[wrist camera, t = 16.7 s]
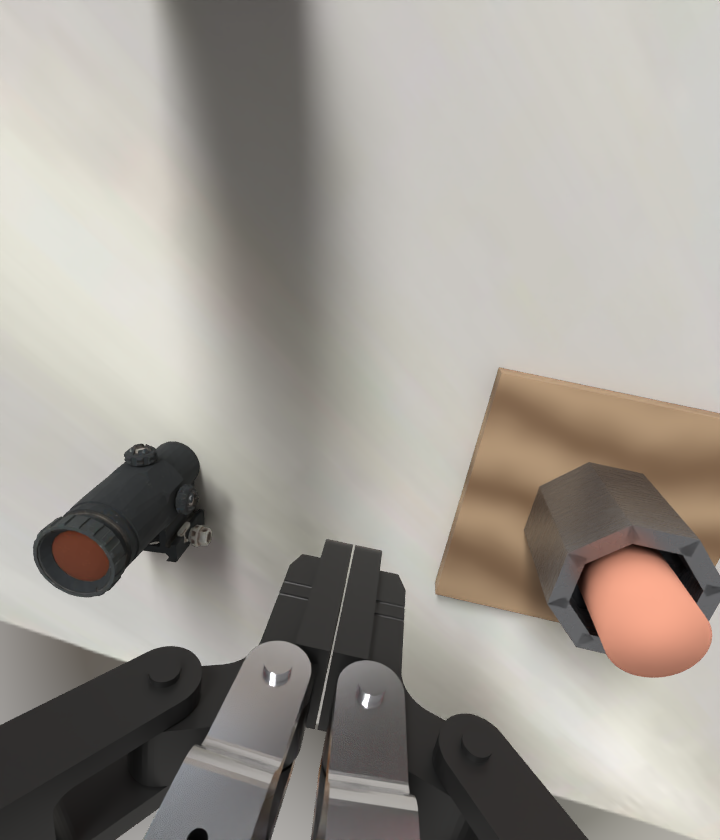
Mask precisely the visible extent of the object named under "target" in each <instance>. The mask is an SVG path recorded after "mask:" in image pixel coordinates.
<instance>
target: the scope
mask: <svg viewBox="0 0 720 840" xmlns="http://www.w3.org/2000/svg"><path fill="white" fill-rule="evenodd" d="M124 457H125V461H126V462H125V463H124V464H122V465H121V466H120V467H119V468H117V469H116V470H115V471H114V472H113V473H112V474H111V475H110V476H108V477H107V478H106V479H105V480H103V481H102V482H101V483H100V484H99V485H97V486H96V487H95V488H94V489H92V490H91V491H90V492H89V493H88V494H86V495H85V496H84V497H83V498H82V499H81V500H80V501H78V502H77V503H76V504H75V505H74V506H73V507H72V508H71V509H70V510H69V511H68V512H67V513H66V514H65V515H64V516H63V517H59V518H57V519H55V520H54V521H53V522H52V523H50V524H49V525H48V526H46V527H45V528H44V529H43V530H41V531H40V532H39V534H38V535H37V539H36V540H35V541H34V545H33V555H34V561H35V563H36V565H37V567H38V569H39V571H40V573H41V574H42V575H43V576H44V578H45V579H46V580H48V581H49V582H50V583H51V584H52V585H53V586H55V587H56V588H58V589H60V590H62V591H64V592H66V593H68V594H70V595H74V596H79V597H93V596H100V595H103V594H104V593H105V592H106V591H109V590H110V589H111V588H112V587H113V586H114V585H115V584H116V582H117V581H118V580H119V579H120V578H121V575H122V574H123V573H124V571H125V569H126V568H127V566H128V565H129V564H130V563H131V562H132V561H133V560H134V559H135V558H136V557H137V556H138V555H139V554H140V553H141V552H142V551H151V552H159V553H166V554H167V555H168V556H169V558H168V559H167V561H171V562H177V561H178V559H179V558H180V557H181V555H182V554H183V553H184V551H185V550H186V549H187V547H188V546H189V544H190V543H191V545H193V546H196V547H199V546H200V545H202V546H208V545H209V544H210V542H211V538H212V530H211V529H210V528H205V527H203V525H204V511H203V510H202V509H199V510H198V511H197V512H195V511H194V508H195V507H196V506H197V504H198V499H199V498H197V495H198V493H197V492H196V489H195V487H194V480H195V478H196V477H197V475H198V473H199V461H198V458H197V456H196V455H195V453H194V452H193V451H192V450H191V449H190V448H189V447H188V446H186V445H184V444H182V443H179V442H167V443H164V444H162V445H160V446H159V447H158V448H157V449H155V448H154V447H152V446H149V445H147V444H146V446H144V445H143V444H137V445H134V446H133V447H131V448H130V449H129V450H128V451H126V452H125V454H124ZM157 541H159V542H160V543H158V544H152V545H150V543H152V542H157Z"/></svg>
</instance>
